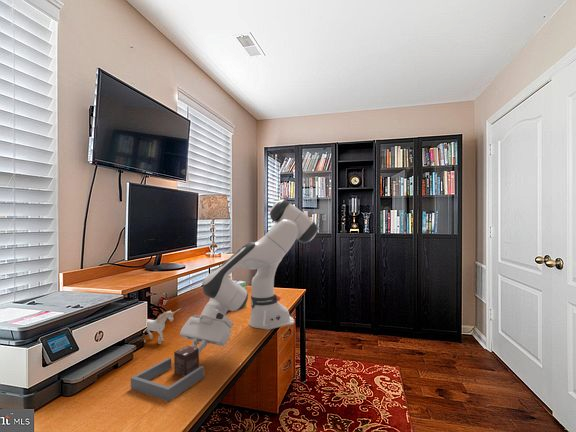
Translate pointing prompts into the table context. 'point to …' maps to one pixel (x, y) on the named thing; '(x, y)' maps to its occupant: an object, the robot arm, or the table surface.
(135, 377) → the box
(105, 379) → the table surface
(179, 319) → the table surface
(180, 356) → the box
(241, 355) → the table surface
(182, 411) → the table surface
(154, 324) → the unicorn figurine
